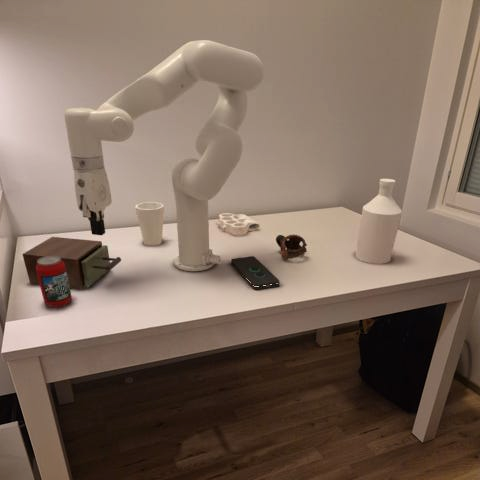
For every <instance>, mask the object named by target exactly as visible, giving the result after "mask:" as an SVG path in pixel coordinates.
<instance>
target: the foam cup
mask: <svg viewBox="0 0 480 480" xmlns="http://www.w3.org/2000/svg"><path fill="white" fill-rule="evenodd" d="M164 213H165V206H164V204H163V203H162V202H157V201H147V202H141V203H140V202H139V203H137V204H136V205H135V214H136V216H137V220H138V224H139V228H140V233H141V235H142V236H141V237H142V241H143V244H144V245H146V246H148V247H150V246H152V247H153V246H159V245H161V244H162V243H163V232H164V231H163V229H164Z"/></svg>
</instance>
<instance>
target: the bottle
mask: <svg viewBox="0 0 480 480" xmlns="http://www.w3.org/2000/svg"><path fill="white" fill-rule="evenodd" d="M378 184H379V188H378V189H379V190H378V194H377V195H376V196H375V197H373V198H372V199H371V200H370V201H368V202H367V203H366V204H364V205H363V206H362V211H361V217H360V223H359V229H358V237H357V243H356V250H355V258H356V259H357V260H360V261H362V262H364V263H367V264H375V265H381V264H387V263H389V262H390V261H391V259H392V255H393V250H394V246H395V242H396V238H397V233H398V230H399V225H400V221H401V217H402V213H403V210H402V208H401V207H400V206H399V205H398V204H397V202H396V201H395V199H394V198H393V191H394V190H393V189H394V187H395V186H396V180H395V179H391V178H380V179H379V183H378Z"/></svg>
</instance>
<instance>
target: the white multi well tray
mask: <svg viewBox="0 0 480 480" xmlns="http://www.w3.org/2000/svg"><path fill="white" fill-rule="evenodd" d="M215 224H216V225H218V226H219V228H220V229H222V230H223V232H225V233H228V234H231V235H232V236H245V235H247V233H248V232H253V231H256V230H258V229H260V226H261V225H260V223H259V222H257V221H255V220H254V219H252V218H251V217H250V216H248V215H246V214H245V213H243V214H242V213H241V214H235V213H234V214H233V213H228V212H226V213H220V214H219V215H218V222H216V223H215Z"/></svg>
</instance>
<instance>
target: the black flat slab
mask: <svg viewBox="0 0 480 480" xmlns="http://www.w3.org/2000/svg"><path fill="white" fill-rule="evenodd" d="M230 265H231V266H232V267H233V268H234V270H235V271H236V272H237V273H238V274H239V275H240V276H241V277H242V278H243V280H244V281H245V282H246V283H247V284H248V285H249V286H250V287H251V289H253V290H254V291H258V290H265V289H271V288H278V287H280V280H279V278H278V277H276V276H275V275H274V273H272V272H271V270H269V269H268V268H267V267H266V266H265V265H264V264H263V263H262V262H261V261H260V260H258V259H257V257H255V256H254V255H250V256H249V255H248V256H242V257H235V258H234V257H233V258H231V259H230ZM246 278H247V279H248V280H249V281H250V282H251V283H250V282H249V281H248V280H247V279H246ZM276 283H279V284H276ZM270 284H272V285H270ZM253 285H254V286H259V287H254V286H253ZM263 285H266V286H263Z"/></svg>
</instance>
